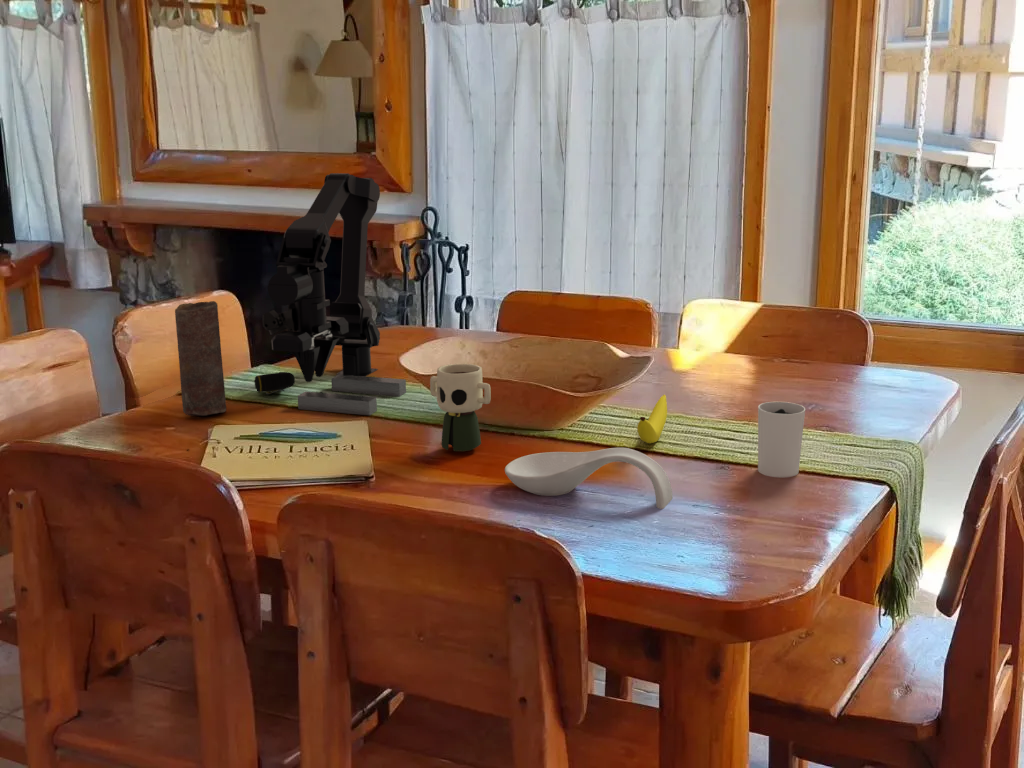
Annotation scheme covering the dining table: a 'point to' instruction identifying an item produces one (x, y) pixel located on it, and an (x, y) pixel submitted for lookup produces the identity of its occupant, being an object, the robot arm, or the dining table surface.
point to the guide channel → (352, 402)
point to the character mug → (460, 403)
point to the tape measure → (274, 382)
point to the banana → (653, 422)
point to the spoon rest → (581, 471)
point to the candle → (200, 358)
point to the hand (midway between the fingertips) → (313, 379)
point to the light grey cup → (780, 438)
